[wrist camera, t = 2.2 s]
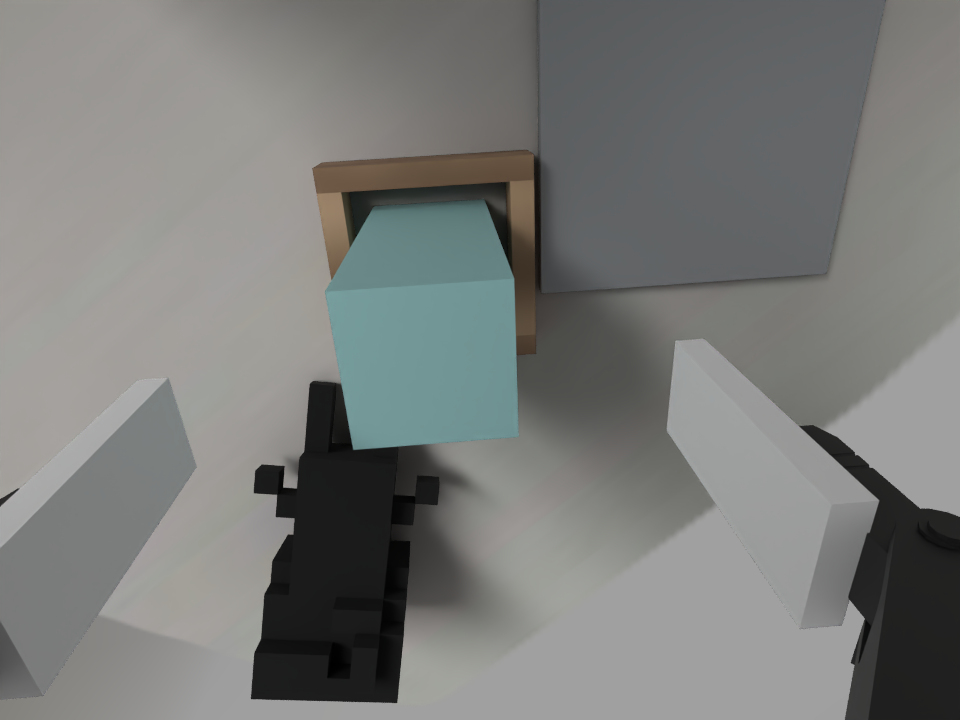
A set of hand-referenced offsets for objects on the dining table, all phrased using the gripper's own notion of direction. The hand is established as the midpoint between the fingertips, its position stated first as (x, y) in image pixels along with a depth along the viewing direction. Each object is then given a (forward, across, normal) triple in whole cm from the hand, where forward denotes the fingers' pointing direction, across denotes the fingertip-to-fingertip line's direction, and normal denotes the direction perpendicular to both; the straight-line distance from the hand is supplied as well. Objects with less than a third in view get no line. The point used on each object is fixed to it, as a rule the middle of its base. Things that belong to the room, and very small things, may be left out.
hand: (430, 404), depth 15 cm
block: (+13, 0, +1) cm, 13 cm away
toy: (+14, -6, -13) cm, 20 cm away
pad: (+13, +12, +6) cm, 19 cm away
